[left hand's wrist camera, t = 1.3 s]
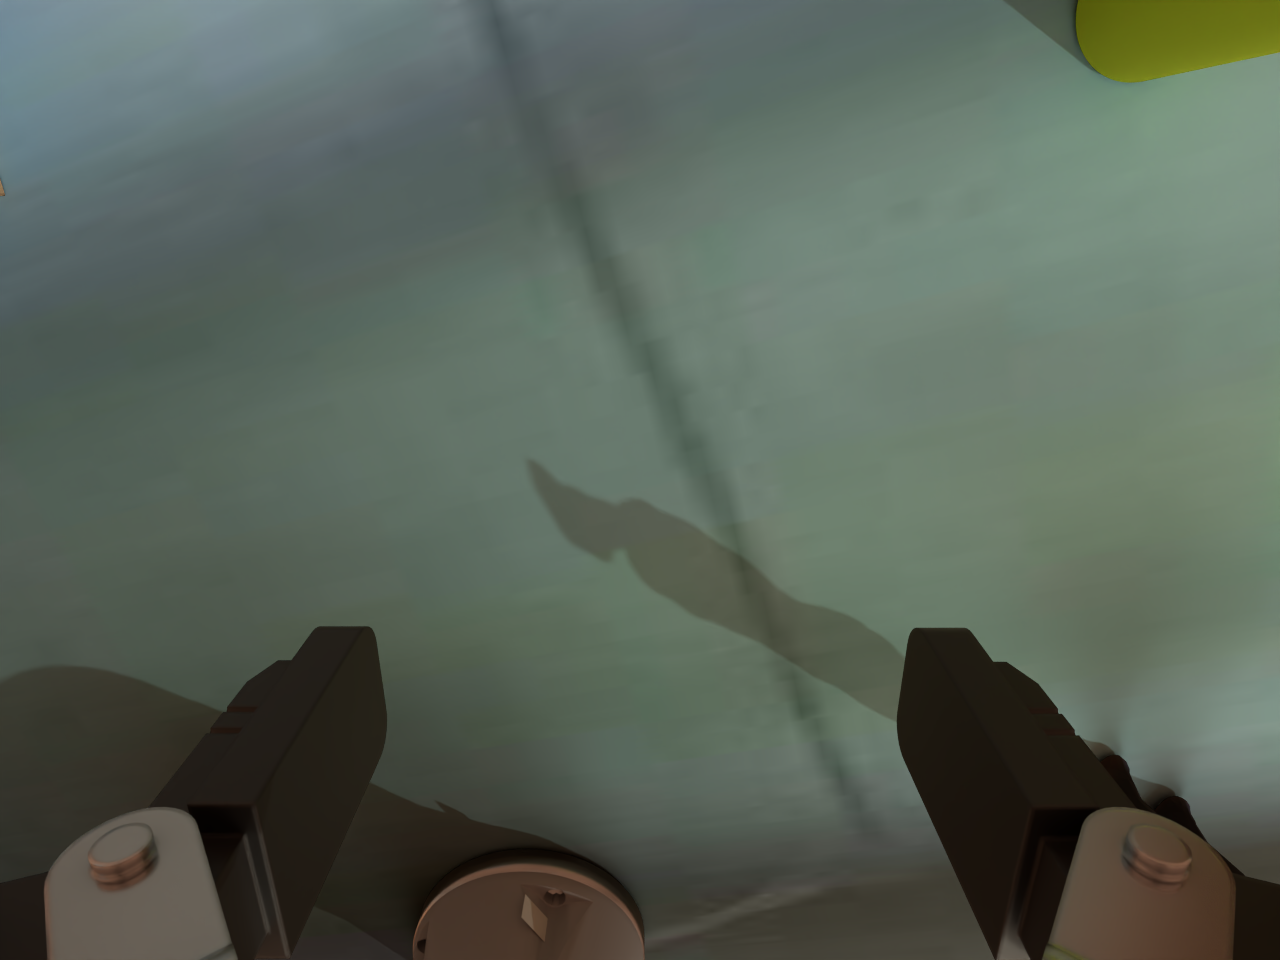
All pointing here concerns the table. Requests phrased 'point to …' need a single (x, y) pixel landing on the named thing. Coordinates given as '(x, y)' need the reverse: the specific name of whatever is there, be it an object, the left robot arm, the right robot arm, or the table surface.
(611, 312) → the table surface
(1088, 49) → the soap dispenser
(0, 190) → the chest
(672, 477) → the table surface
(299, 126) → the table surface
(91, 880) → the left robot arm
